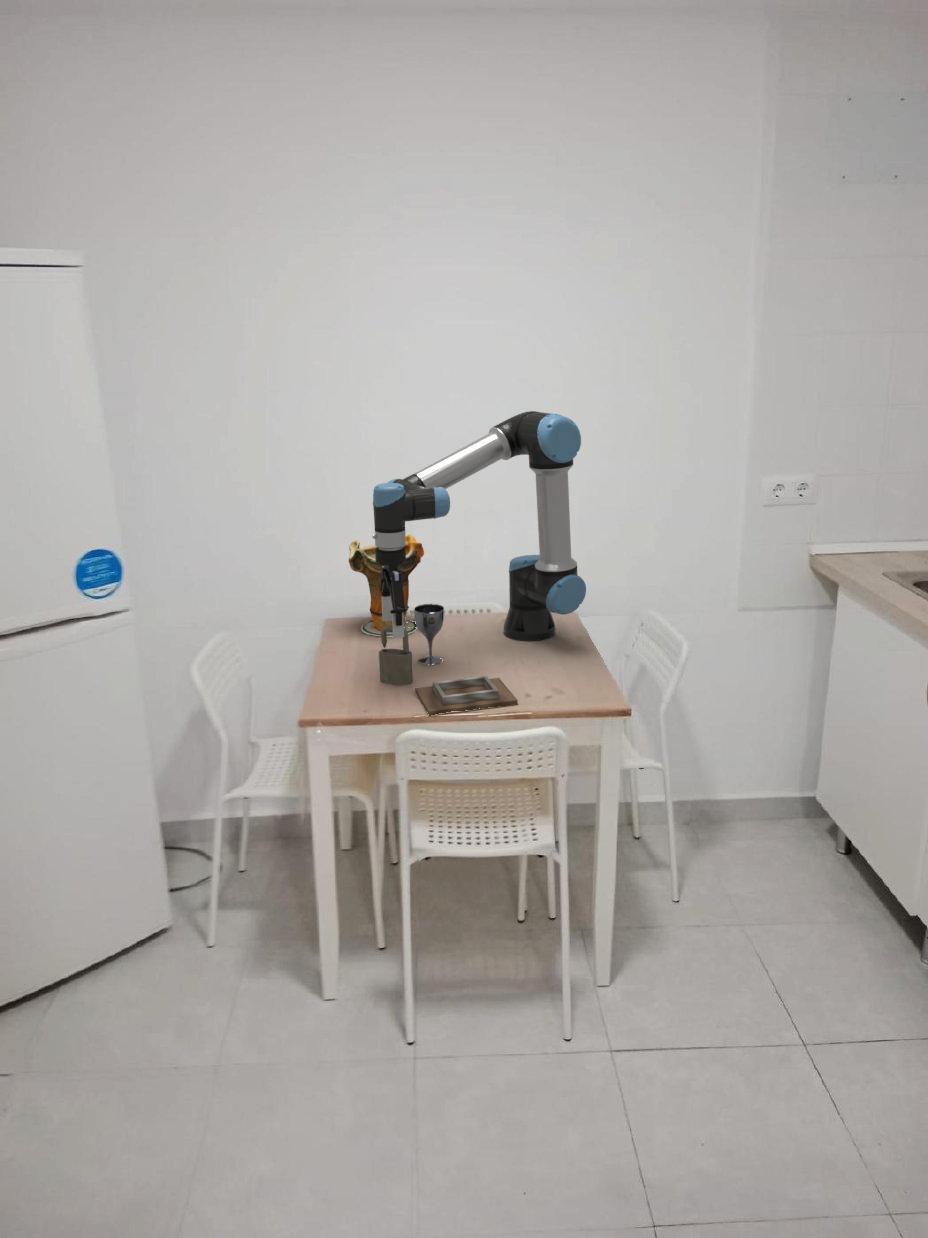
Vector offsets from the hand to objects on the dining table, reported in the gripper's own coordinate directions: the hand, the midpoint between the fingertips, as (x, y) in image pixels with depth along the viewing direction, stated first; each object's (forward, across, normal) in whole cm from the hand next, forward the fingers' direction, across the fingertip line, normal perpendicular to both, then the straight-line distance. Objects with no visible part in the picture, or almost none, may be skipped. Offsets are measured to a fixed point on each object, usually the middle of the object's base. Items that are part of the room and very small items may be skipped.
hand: (393, 628), depth 238 cm
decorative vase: (+14, -43, +8) cm, 46 cm away
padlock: (+15, 0, 0) cm, 15 cm away
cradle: (+14, +16, +14) cm, 26 cm away
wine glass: (+14, -12, +12) cm, 23 cm away
